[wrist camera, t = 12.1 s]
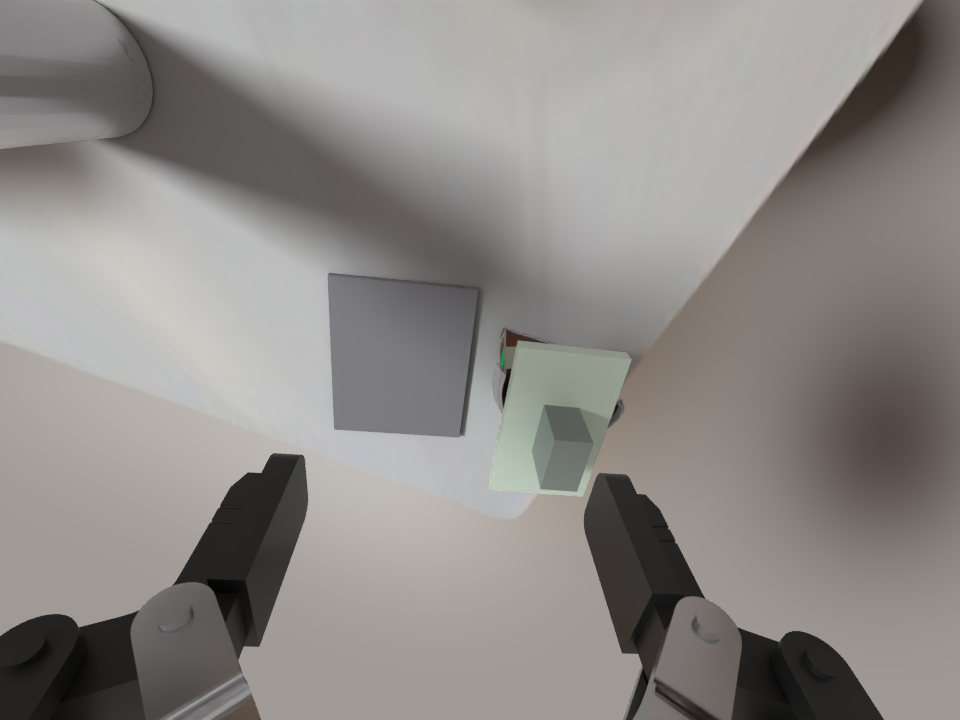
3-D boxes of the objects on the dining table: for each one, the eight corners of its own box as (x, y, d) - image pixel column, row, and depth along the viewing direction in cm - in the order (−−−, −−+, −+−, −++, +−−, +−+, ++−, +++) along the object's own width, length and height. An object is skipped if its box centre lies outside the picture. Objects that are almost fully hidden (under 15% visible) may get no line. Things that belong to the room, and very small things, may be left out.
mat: (335, 426, 51) (334, 429, 50) (329, 273, 42) (327, 275, 41) (459, 433, 52) (459, 437, 52) (478, 287, 43) (478, 290, 43)
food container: (470, 372, 48) (473, 431, 40) (490, 323, 45) (498, 374, 37) (572, 401, 51) (597, 463, 42) (597, 356, 48) (629, 412, 39)
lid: (488, 480, 43) (493, 530, 38) (517, 340, 35) (528, 379, 30) (579, 487, 44) (595, 536, 39) (626, 352, 36) (654, 391, 31)
